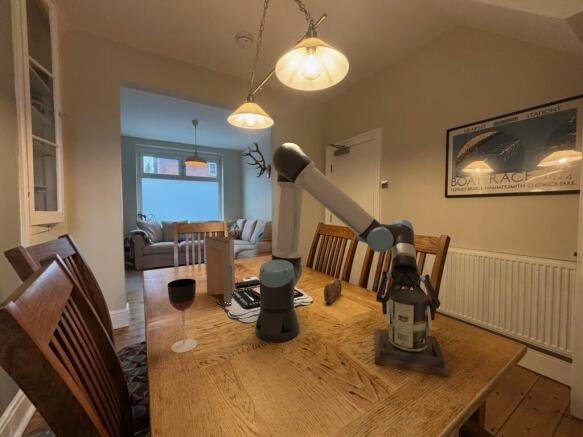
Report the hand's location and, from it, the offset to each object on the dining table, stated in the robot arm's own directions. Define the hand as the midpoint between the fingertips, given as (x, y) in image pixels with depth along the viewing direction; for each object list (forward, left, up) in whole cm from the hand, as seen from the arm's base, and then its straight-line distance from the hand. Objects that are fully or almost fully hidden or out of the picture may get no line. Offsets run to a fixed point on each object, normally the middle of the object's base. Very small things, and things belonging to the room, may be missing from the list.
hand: (408, 328), depth 72 cm
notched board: (0, +3, -9) cm, 9 cm away
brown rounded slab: (-27, +37, -9) cm, 47 cm away
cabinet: (-75, +26, -9) cm, 80 cm away
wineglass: (-65, -13, -9) cm, 67 cm away
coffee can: (0, +3, -6) cm, 6 cm away
